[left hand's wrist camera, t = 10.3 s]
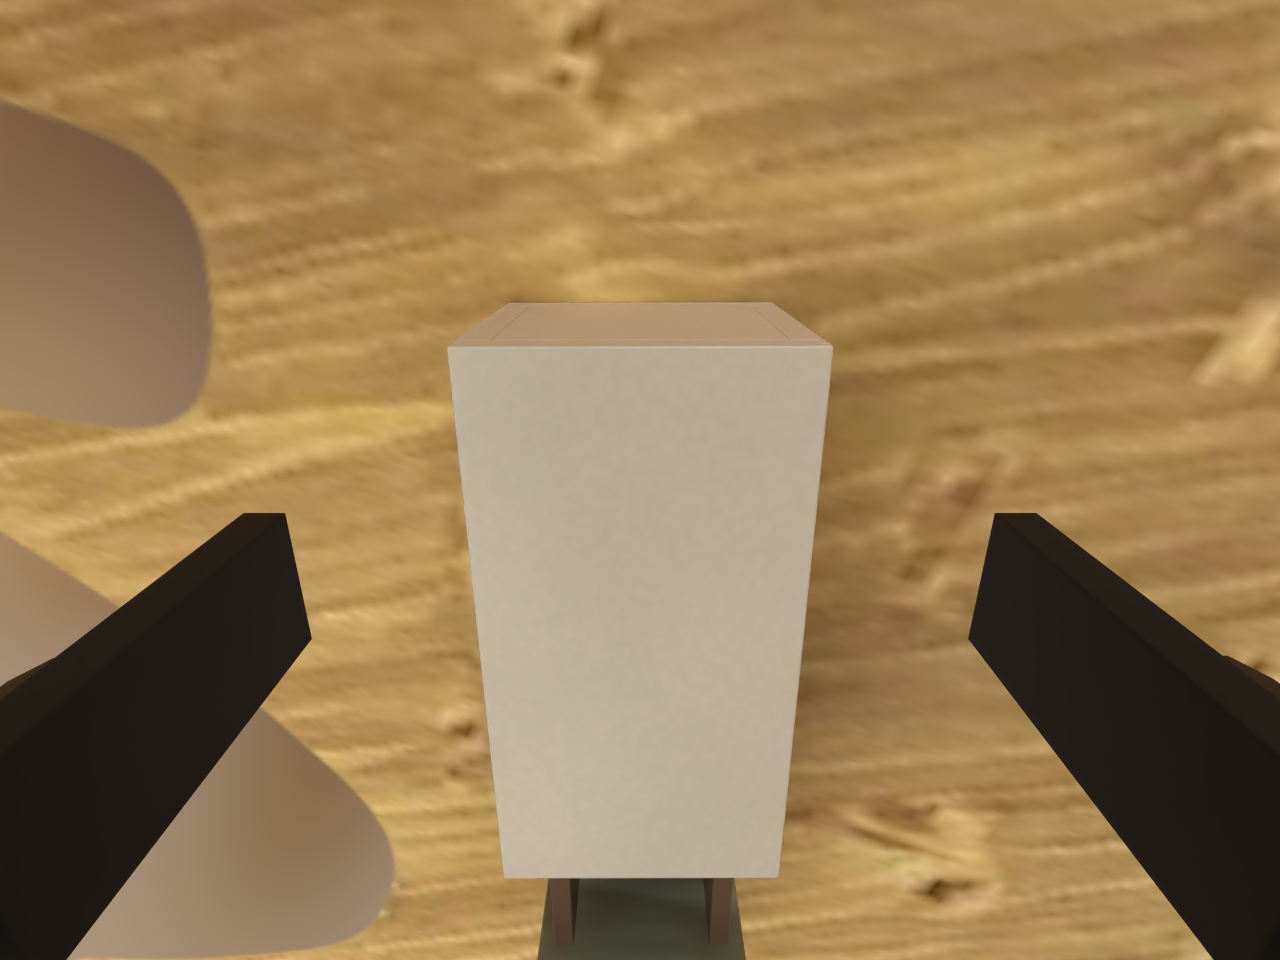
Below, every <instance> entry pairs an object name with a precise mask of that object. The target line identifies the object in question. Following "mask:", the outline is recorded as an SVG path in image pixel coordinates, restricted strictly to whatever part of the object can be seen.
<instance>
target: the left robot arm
mask: <svg viewBox="0 0 1280 960" xmlns="http://www.w3.org/2000/svg"><path fill="white" fill-rule="evenodd" d="M311 639H312V638H311V633H310V628H309V624H308V619H307V614H306V609H305V605H304V600H303V595H302V591H301V586H300V581H299V576H298V572H297V567H296V562H295V558H294V553H293V548H292V543H291V539H290V534H289V529H288V525H287V520H286V515H285V513H243V514H242V515H241V516H239V517H238V518H237V519H235V520H234V521H233V522H231V523H230V524H229V525H228V526H226V527H225V528H224V529H222V530H221V531H220V532H218V533H217V534H216V535H214V536H213V537H212V538H211V539H209V540H208V541H207V542H205V543H204V544H203V545H201V546H200V547H199V548H198V549H196V550H195V551H194V552H192V553H191V554H190V555H188V556H187V557H186V558H184V559H183V560H182V561H181V562H179V563H178V564H177V565H175V566H174V567H173V568H171V569H170V570H169V571H167V572H166V573H165V574H164V575H162V576H161V577H160V578H158V579H157V580H156V581H154V582H153V583H152V584H151V585H149V586H148V587H147V588H145V589H144V590H143V591H141V592H140V593H139V594H137V595H136V596H135V597H134V598H132V599H131V600H130V601H128V602H127V603H126V604H124V605H123V606H122V607H121V608H119V609H118V610H117V611H115V612H114V613H113V614H111V615H110V616H109V617H107V618H106V619H105V620H104V621H102V622H101V623H100V624H98V625H97V626H96V627H94V628H93V629H92V630H91V631H89V632H88V633H87V634H85V635H84V636H83V637H81V638H80V639H79V640H77V641H76V642H75V643H74V644H72V645H71V646H70V647H68V648H67V649H66V650H64V651H63V652H62V653H61V654H59V655H58V656H57V657H55V658H53V659H51V660H49V661H47V662H45V663H43V664H41V665H39V666H37V667H35V668H33V669H31V670H29V671H27V672H25V673H23V674H21V675H19V676H17V677H15V678H13V679H11V680H10V681H8V682H6V683H5V684H4V685H2V686H1V687H0V960H67V958H68V957H69V956H70V954H71V953H72V952H73V950H74V949H75V948H76V946H77V945H78V944H79V942H80V941H81V940H82V939H83V937H84V936H85V935H86V933H87V932H88V931H89V929H90V928H91V927H92V925H93V924H94V923H95V921H96V920H97V919H98V918H99V916H100V915H101V914H102V912H103V911H104V910H105V908H106V907H107V906H108V905H109V903H110V902H111V901H112V899H113V898H114V897H115V895H116V894H117V893H118V891H119V890H120V889H121V888H122V886H123V885H124V884H125V882H126V881H127V880H128V878H129V877H130V876H131V874H132V873H133V872H134V871H135V869H136V868H137V867H138V865H139V864H140V863H141V861H142V860H143V859H144V857H145V856H146V855H147V854H148V852H149V851H150V850H151V848H152V847H153V846H154V844H155V843H156V842H157V840H158V839H159V838H160V837H161V835H162V834H163V833H164V831H165V830H166V829H167V827H168V826H169V825H170V823H171V822H172V821H173V820H174V818H175V817H176V816H177V814H178V813H179V812H180V810H181V809H182V808H183V806H184V805H185V804H186V803H187V801H188V800H189V799H190V797H191V796H192V795H193V793H194V792H195V791H196V789H197V788H198V787H199V785H200V784H201V783H202V782H203V780H204V779H205V778H206V776H207V775H208V774H209V772H210V771H211V770H212V769H213V767H214V766H215V765H216V763H217V762H218V761H219V759H220V758H221V757H222V755H223V754H224V753H225V752H226V750H227V749H228V748H229V746H230V745H231V744H232V742H233V741H234V740H235V738H236V737H237V736H238V734H239V733H240V732H241V731H242V729H243V728H244V727H245V725H246V724H247V723H248V721H249V720H250V719H251V718H252V716H253V715H254V714H255V712H256V711H257V710H258V708H259V707H260V706H261V704H262V703H263V702H264V701H265V699H266V698H267V697H268V695H269V694H270V693H271V691H272V690H273V689H274V687H275V686H276V685H277V684H278V682H279V681H280V680H281V678H282V677H283V676H284V674H285V673H286V672H287V670H288V669H289V668H290V667H291V665H292V664H293V663H294V661H295V660H296V659H297V657H298V656H299V655H300V653H301V652H302V651H303V650H304V648H305V647H306V646H307V644H308V643H309V642H310V640H311ZM968 639H969V640H970V642H971V643H972V644H973V646H974V647H975V648H976V650H977V651H978V652H979V653H980V655H981V656H982V657H983V659H984V660H985V661H986V663H987V664H988V665H989V667H990V668H991V669H992V670H993V672H994V673H995V674H996V676H997V677H998V678H999V680H1000V681H1001V682H1002V684H1003V685H1004V686H1005V687H1006V689H1007V690H1008V691H1009V693H1010V694H1011V695H1012V697H1013V698H1014V699H1015V701H1016V702H1017V703H1018V704H1019V706H1020V707H1021V708H1022V710H1023V711H1024V712H1025V714H1026V715H1027V716H1028V718H1029V719H1030V720H1031V721H1032V723H1033V724H1034V725H1035V727H1036V728H1037V729H1038V731H1039V732H1040V733H1041V735H1042V736H1043V737H1044V738H1045V740H1046V741H1047V742H1048V744H1049V745H1050V746H1051V748H1052V749H1053V750H1054V752H1055V753H1056V754H1057V755H1058V757H1059V758H1060V759H1061V761H1062V762H1063V763H1064V765H1065V766H1066V767H1067V769H1068V770H1069V771H1070V772H1071V774H1072V775H1073V776H1074V778H1075V779H1076V780H1077V782H1078V783H1079V784H1080V786H1081V787H1082V788H1083V789H1084V791H1085V792H1086V793H1087V795H1088V796H1089V797H1090V799H1091V800H1092V801H1093V803H1094V804H1095V805H1096V806H1097V808H1098V809H1099V810H1100V812H1101V813H1102V814H1103V816H1104V817H1105V818H1106V820H1107V821H1108V822H1109V823H1110V825H1111V826H1112V827H1113V829H1114V830H1115V831H1116V833H1117V834H1118V835H1119V837H1120V838H1121V839H1122V840H1123V842H1124V843H1125V844H1126V846H1127V847H1128V848H1129V850H1130V851H1131V852H1132V854H1133V855H1134V856H1135V857H1136V859H1137V860H1138V861H1139V863H1140V864H1141V865H1142V867H1143V868H1144V869H1145V871H1146V872H1147V873H1148V874H1149V876H1150V877H1151V878H1152V880H1153V881H1154V882H1155V884H1156V885H1157V886H1158V888H1159V889H1160V890H1161V891H1162V893H1163V894H1164V895H1165V897H1166V898H1167V899H1168V901H1169V902H1170V903H1171V905H1172V906H1173V907H1174V909H1175V910H1176V911H1177V912H1178V914H1179V915H1180V916H1181V918H1182V919H1183V920H1184V922H1185V923H1186V924H1187V926H1188V927H1189V928H1190V929H1191V931H1192V932H1193V933H1194V935H1195V936H1196V937H1197V939H1198V940H1199V941H1200V943H1201V944H1202V945H1203V946H1204V948H1205V949H1206V950H1207V952H1208V953H1209V954H1210V956H1211V957H1212V958H1213V960H1280V683H1278V682H1277V681H1275V680H1274V679H1272V678H1271V677H1269V676H1267V675H1265V674H1263V673H1261V672H1259V671H1257V670H1255V669H1253V668H1251V667H1249V666H1247V665H1245V664H1243V663H1241V662H1239V661H1237V660H1235V659H1233V658H1231V657H1229V656H1222V655H1221V654H1220V653H1218V652H1217V651H1216V650H1214V649H1213V648H1212V647H1210V646H1209V645H1208V644H1206V643H1205V642H1204V641H1203V640H1201V639H1200V638H1199V637H1197V636H1196V635H1195V634H1193V633H1192V632H1191V631H1189V630H1188V629H1187V628H1186V627H1184V626H1183V625H1182V624H1180V623H1179V622H1178V621H1176V620H1175V619H1174V618H1173V617H1171V616H1170V615H1169V614H1167V613H1166V612H1165V611H1163V610H1162V609H1161V608H1159V607H1158V606H1157V605H1156V604H1154V603H1153V602H1152V601H1150V600H1149V599H1148V598H1146V597H1145V596H1144V595H1143V594H1141V593H1140V592H1139V591H1137V590H1136V589H1135V588H1133V587H1132V586H1131V585H1129V584H1128V583H1127V582H1126V581H1124V580H1123V579H1122V578H1120V577H1119V576H1118V575H1116V574H1115V573H1114V572H1113V571H1111V570H1110V569H1109V568H1107V567H1106V566H1105V565H1103V564H1102V563H1101V562H1099V561H1098V560H1097V559H1096V558H1094V557H1093V556H1092V555H1090V554H1089V553H1088V552H1086V551H1085V550H1084V549H1082V548H1081V547H1080V546H1079V545H1077V544H1076V543H1075V542H1073V541H1072V540H1071V539H1069V538H1068V537H1067V536H1066V535H1064V534H1063V533H1062V532H1060V531H1059V530H1058V529H1056V528H1055V527H1054V526H1052V525H1051V524H1050V523H1049V522H1047V521H1046V520H1045V519H1043V518H1042V517H1041V516H1039V515H1038V514H1037V513H995V515H994V520H993V525H992V529H991V534H990V539H989V543H988V548H987V553H986V558H985V562H984V567H983V572H982V576H981V581H980V586H979V591H978V595H977V600H976V605H975V609H974V614H973V619H972V624H971V628H970V633H969V638H968Z"/></svg>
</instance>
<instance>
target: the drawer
mask: <svg viewBox="0 0 1280 960" xmlns="http://www.w3.org/2000/svg"><path fill="white" fill-rule="evenodd" d="M537 960H746V958H745V950H744V943H743V936H742V929H741V922H740V915H739V908H738V901H737V894H736V887H735V879H734V878H548V885H547V893H546V900H545V907H544V915H543V922H542V929H541V937H540V944H539V951H538V959H537Z"/></svg>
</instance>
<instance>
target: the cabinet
mask: <svg viewBox="0 0 1280 960" xmlns="http://www.w3.org/2000/svg"><path fill="white" fill-rule="evenodd" d="M833 349H834V348H833V346H832V345H831V344H829V343H828V342H827V341H825V340H824V339H822V338H821V337H819V336H818V335H817V334H815V333H814V332H812V331H811V330H810V329H808V328H807V327H805V326H804V325H803V324H801V323H800V322H798V321H797V320H796V319H794V318H793V317H791V316H790V315H789V314H787V313H786V312H784V311H783V310H782V309H780V308H779V307H777V306H776V305H775V304H773V303H772V302H589V303H508V304H506V305H505V306H503V307H502V308H500V309H499V310H498V311H496V312H495V313H493V314H492V315H491V316H489V317H488V318H486V319H485V320H484V321H482V322H481V323H479V324H478V325H477V326H475V327H474V328H473V329H471V330H470V331H468V332H467V333H466V334H464V335H463V336H461V337H460V338H459V339H457V340H456V341H455V342H454V343H452V344H451V345H450V346H448V348H447V353H448V362H449V372H450V381H451V390H452V400H453V409H454V418H455V428H456V437H457V446H458V455H459V465H460V474H461V483H462V493H463V502H464V511H465V521H466V530H467V539H468V548H469V558H470V567H471V576H472V586H473V595H474V604H475V614H476V623H477V632H478V641H479V651H480V660H481V669H482V679H483V688H484V697H485V707H486V716H487V725H488V734H489V744H490V753H491V762H492V772H493V781H494V790H495V800H496V809H497V818H498V827H499V837H500V846H501V855H502V865H503V874H504V878H778V877H779V871H780V862H781V852H782V842H783V833H784V823H785V813H786V804H787V794H788V784H789V775H790V765H791V755H792V746H793V736H794V726H795V717H796V707H797V697H798V688H799V678H800V668H801V659H802V649H803V639H804V630H805V620H806V610H807V601H808V591H809V581H810V572H811V562H812V552H813V543H814V533H815V523H816V514H817V504H818V494H819V485H820V475H821V465H822V456H823V446H824V436H825V427H826V417H827V407H828V398H829V388H830V378H831V369H832V359H833Z"/></svg>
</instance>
